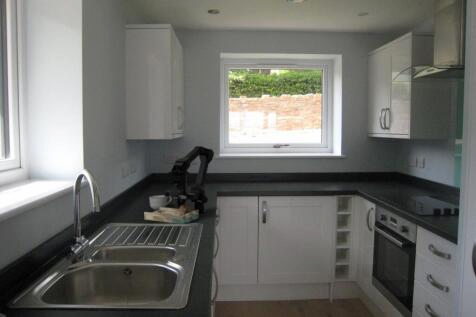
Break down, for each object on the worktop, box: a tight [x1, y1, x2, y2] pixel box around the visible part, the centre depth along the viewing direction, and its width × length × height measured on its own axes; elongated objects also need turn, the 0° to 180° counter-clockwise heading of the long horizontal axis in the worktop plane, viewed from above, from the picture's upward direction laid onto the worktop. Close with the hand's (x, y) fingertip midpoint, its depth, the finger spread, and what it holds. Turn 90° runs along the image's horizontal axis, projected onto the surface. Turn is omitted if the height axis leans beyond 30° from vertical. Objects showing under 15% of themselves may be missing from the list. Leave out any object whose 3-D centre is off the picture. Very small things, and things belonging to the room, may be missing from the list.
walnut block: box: [178, 203, 191, 215], centre depth 208 cm, size 4×4×4 cm
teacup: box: [149, 194, 173, 210], centre depth 236 cm, size 14×11×8 cm
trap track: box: [143, 207, 200, 225], centre depth 209 cm, size 15×26×4 cm, turn 66°
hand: (180, 210), depth 209 cm, fingers closed, pressing on walnut block
